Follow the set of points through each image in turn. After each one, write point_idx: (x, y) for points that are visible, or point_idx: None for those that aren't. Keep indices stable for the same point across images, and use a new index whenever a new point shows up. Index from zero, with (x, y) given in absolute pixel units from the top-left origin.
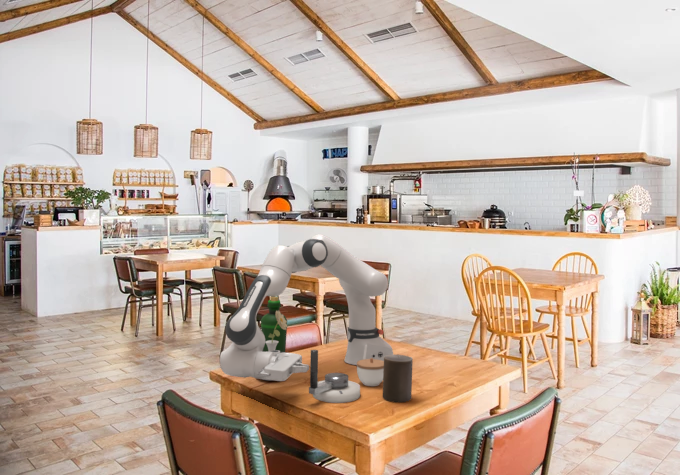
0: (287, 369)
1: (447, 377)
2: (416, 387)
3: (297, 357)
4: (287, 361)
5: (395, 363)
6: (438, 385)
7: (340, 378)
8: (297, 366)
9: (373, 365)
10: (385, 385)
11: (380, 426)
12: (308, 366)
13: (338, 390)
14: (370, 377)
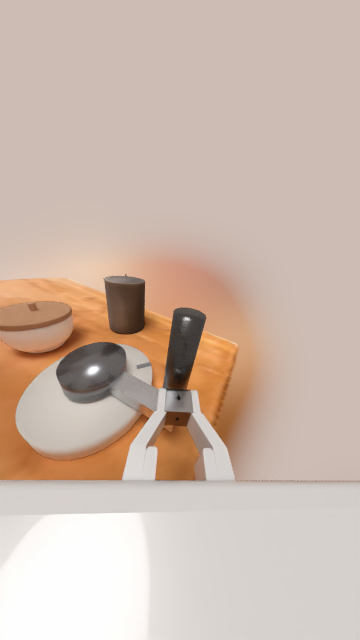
0: (327, 481)
1: (65, 296)
2: (91, 312)
3: (3, 507)
4: (184, 622)
5: (144, 285)
6: (91, 303)
7: (117, 352)
8: (212, 435)
9: (62, 310)
10: (134, 317)
11: (214, 338)
12: (168, 389)
13: (130, 370)
14: (69, 330)
